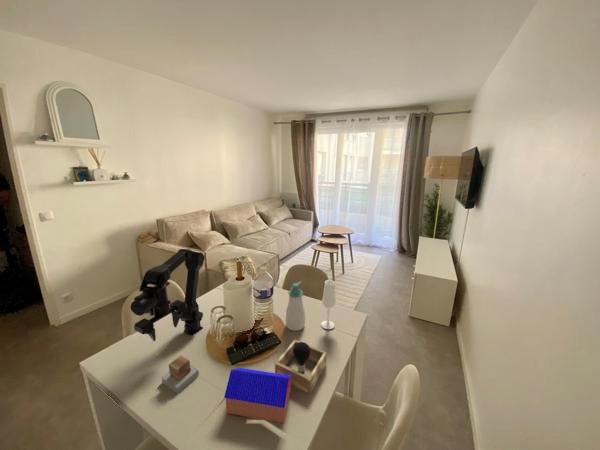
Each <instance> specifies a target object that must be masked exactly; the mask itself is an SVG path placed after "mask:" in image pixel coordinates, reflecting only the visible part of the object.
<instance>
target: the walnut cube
mask: <svg viewBox="0 0 600 450" xmlns="http://www.w3.org/2000/svg"><path fill="white" fill-rule="evenodd" d="M190 361H191V360H190V359H188V358H186V357H184V356H183V355H179V356H178V357H177V358H175V359H174V360H173V361H171V362H170V363H169V364H168V370H169V371H170V376H172V377H173V378H175V379H176V380H178V381H180V380H181V379H182V378H183V377H185V376H186V375H187V374H188V373H189V372H190V371H191V369H190V365H191V362H190ZM169 371H168V372H169Z"/></svg>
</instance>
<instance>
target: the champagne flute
mask: <svg viewBox="0 0 600 450" xmlns="http://www.w3.org/2000/svg"><path fill="white" fill-rule="evenodd" d="M321 303H322V305H323V307H324V308H326V311H327V312H326V320H324V321H322V322H321V327H322V329H326V330H331V329H334V328H335V323H334V322H332V321H331V320H330V309H332V308H334V307H335V305H336V286H335V281H334V280H331V279H327V280H325V281H324V286H323V292H322V300H321Z"/></svg>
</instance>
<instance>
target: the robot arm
mask: <svg viewBox="0 0 600 450" xmlns="http://www.w3.org/2000/svg"><path fill="white" fill-rule="evenodd" d="M204 262H205V255H204V253H203V252H201V251H199V252H198V251H194V250H191V249H189V248H180V249H179V250H178V251H177V252H176V253H175V254H173V255H172V256H171V257H170V258H168V259H167V260H166V261H165V262H163V263H162V264H159V265H156V266H153V267H151V268H149V269H148V270H147V271H145V273H144V275H143V278H142V280H141V284H140V287H139V290H138V291H139V292H141V294H138V295H136V296H134V298H133V301H132V302H131V304H130V310H131V312H132V313H133V314H134V315H137V316H143V315H148V314H149V316H151V317H152V318H150V319H147V318H143V319H141V320H139V321H136V323H135V324H134V326H133V328H134V331H136V332H138V333H139V334H142V335H148V336H149V337H150V339H151V340H152V341H153V342H155V341H156V340H157V339H156V336H157V335H156V329H155V328H154V327H155V324H156V323H157V322H159V321H160V320H162V319H164V318H166V317H168V315H170V314H171V319H172V325H173V327H174V328H177V326H178V325H179V321H181V322H184V326H183V327H184V330H183V332H184V333H185V334H187V335H190V336H192V337H193V336H194V335H196V334H197V333H198V332H200V331H202V330H203V329H204V328H203V326H202V324H201V321H202V320H203V317H204V313H203V312H202V311H200V307H199V306H200V305H199V304H198V302H197V292H198V285H199V284H198V283H199V272H200V269H202V267H204ZM183 263H184V265H185V267H186V269H187V276H186V284H185V295H184V301H182V300H178V299H176V300H175V301H173V302H171V300H169V297H168V289H167V287H168V286H170V285H171V283H170V282H169V280H170V279H171V274H172V272H174V271H175V270H176V269H178V267H180V266H181V265H182V264H183ZM148 285H149V286H148Z"/></svg>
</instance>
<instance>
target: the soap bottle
mask: <svg viewBox="0 0 600 450" xmlns="http://www.w3.org/2000/svg"><path fill="white" fill-rule="evenodd" d="M302 283H303V282H302V281H298V282H295V283H292V287H291V288H290V290H289V291H288V293H287V294H288V304H287V307H286V310H285V325H286V328H288V330H290V331H293V332H294V331H296V332H297V331H300V330H302V329H304V328H305V326H306V325H305V324H306V312H305V307H304V302H303V295H304V291H303V290H302V289H301V287H300V285H301V284H302Z"/></svg>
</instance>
